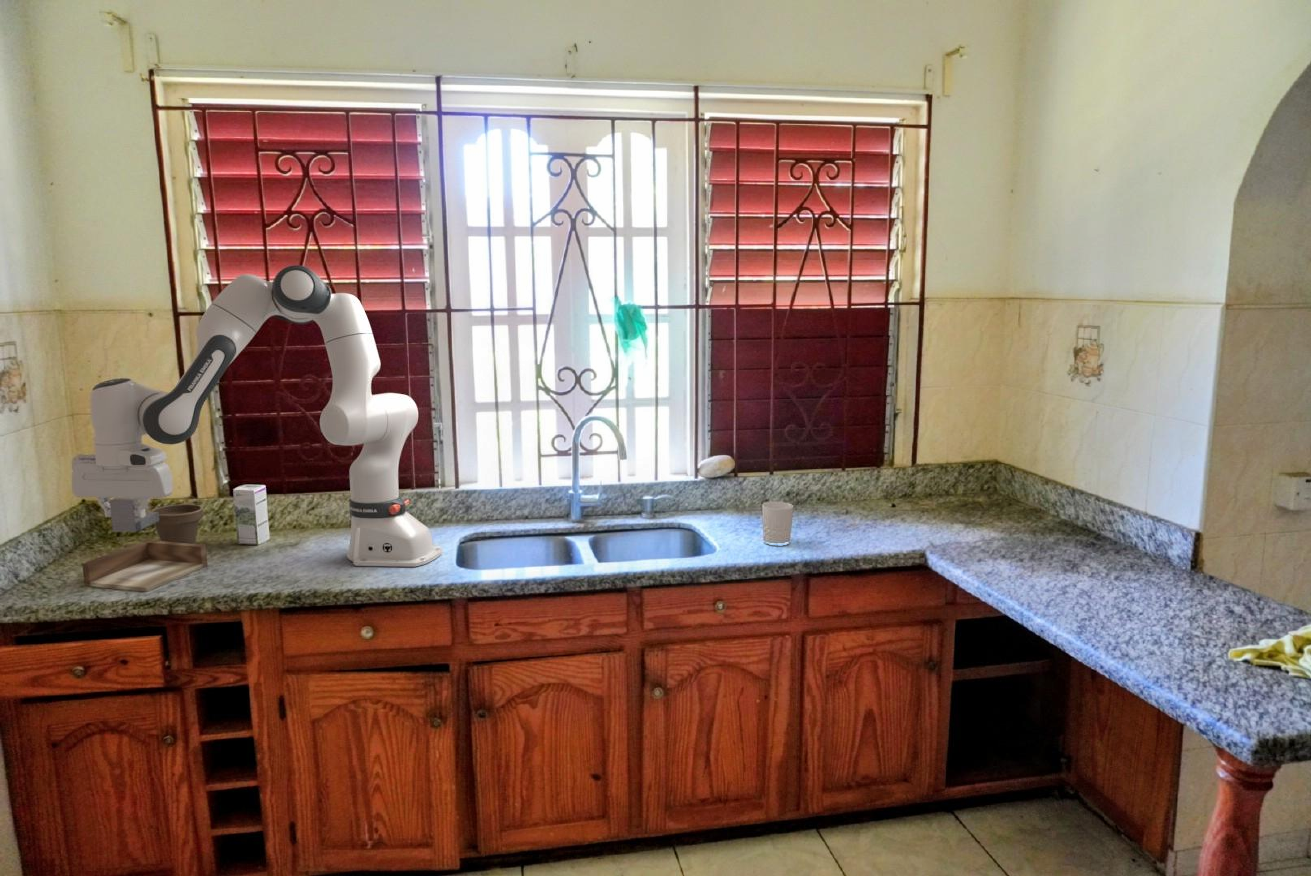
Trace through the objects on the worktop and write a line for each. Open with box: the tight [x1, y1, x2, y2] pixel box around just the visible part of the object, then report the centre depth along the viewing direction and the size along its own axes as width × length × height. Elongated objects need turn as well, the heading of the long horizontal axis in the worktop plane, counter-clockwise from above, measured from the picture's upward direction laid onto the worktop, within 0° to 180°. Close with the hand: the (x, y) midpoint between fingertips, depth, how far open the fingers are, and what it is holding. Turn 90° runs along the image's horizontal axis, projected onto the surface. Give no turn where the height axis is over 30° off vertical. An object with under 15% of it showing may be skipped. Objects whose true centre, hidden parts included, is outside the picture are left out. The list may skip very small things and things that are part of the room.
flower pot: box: [150, 503, 204, 544], centre depth 214 cm, size 12×11×10 cm
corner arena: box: [81, 539, 208, 593], centre depth 195 cm, size 16×18×5 cm
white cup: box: [761, 501, 794, 543], centre depth 222 cm, size 8×8×10 cm
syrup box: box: [232, 484, 270, 546], centre depth 220 cm, size 6×6×14 cm
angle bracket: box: [109, 498, 159, 533], centre depth 192 cm, size 9×5×7 cm, turn 0°
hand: (125, 517), depth 189 cm, fingers closed on angle bracket, 5 cm apart
